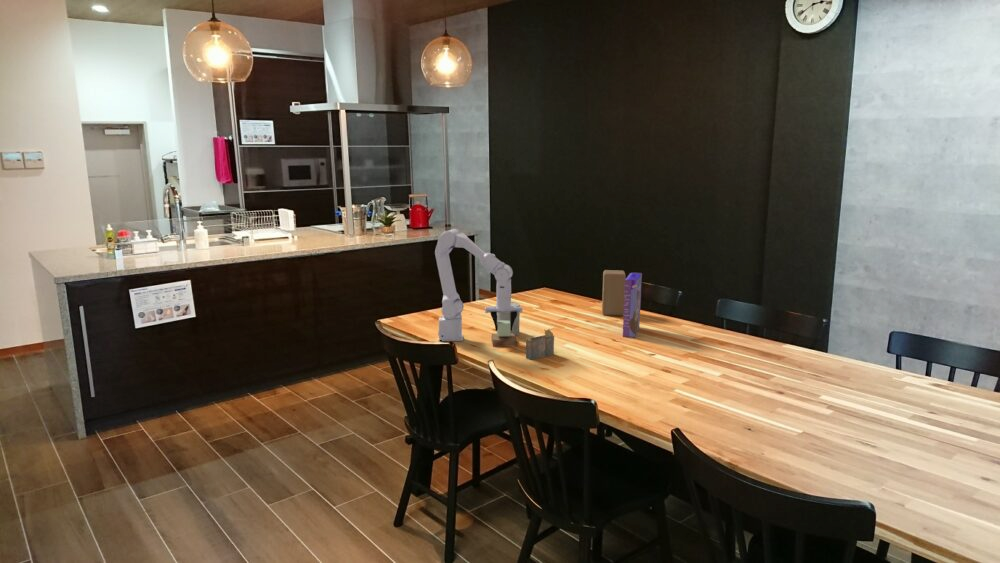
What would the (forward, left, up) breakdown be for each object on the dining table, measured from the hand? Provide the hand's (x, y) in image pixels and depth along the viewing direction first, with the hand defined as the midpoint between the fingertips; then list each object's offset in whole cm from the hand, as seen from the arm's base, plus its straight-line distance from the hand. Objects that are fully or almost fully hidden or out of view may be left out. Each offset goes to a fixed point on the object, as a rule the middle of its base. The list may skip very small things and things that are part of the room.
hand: (503, 330), depth 248 cm
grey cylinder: (+3, +14, -5) cm, 15 cm away
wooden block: (+55, +45, -5) cm, 71 cm away
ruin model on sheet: (+12, -18, -6) cm, 22 cm away
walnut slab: (0, 0, -5) cm, 5 cm away
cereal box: (+55, +13, -5) cm, 57 cm away
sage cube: (0, 0, -2) cm, 2 cm away
